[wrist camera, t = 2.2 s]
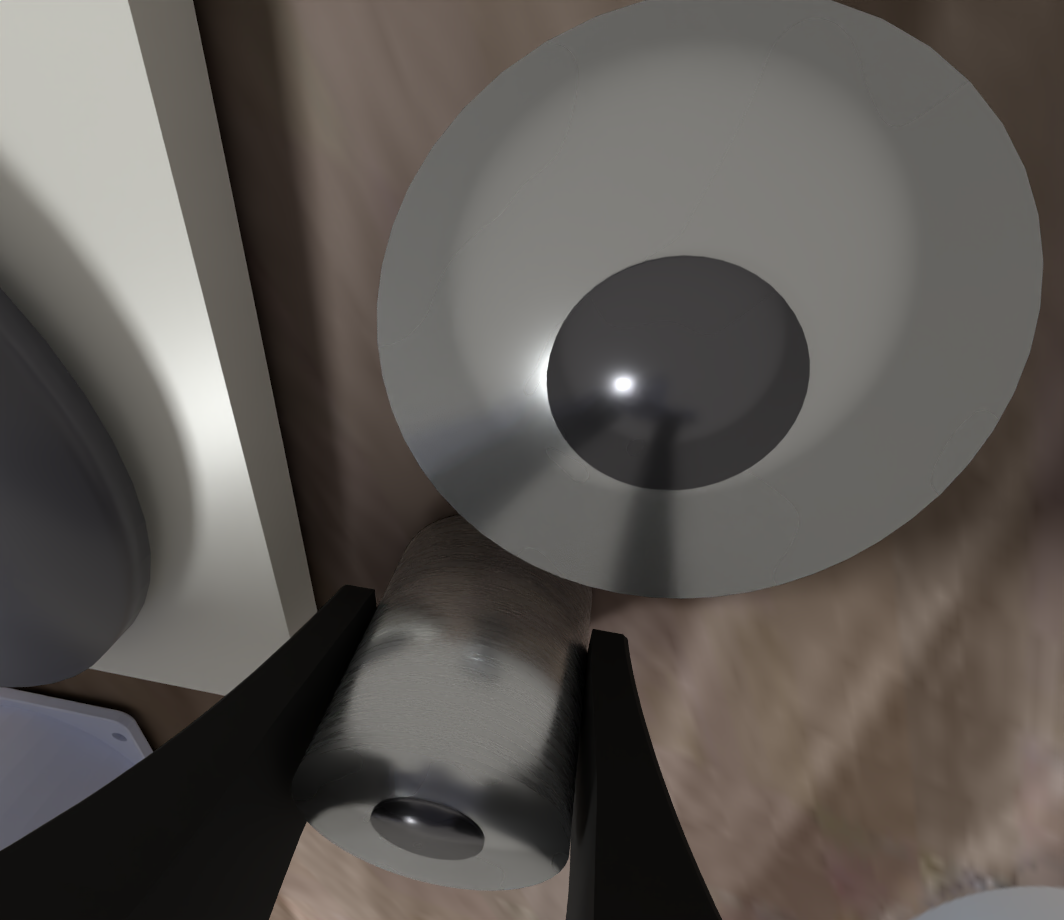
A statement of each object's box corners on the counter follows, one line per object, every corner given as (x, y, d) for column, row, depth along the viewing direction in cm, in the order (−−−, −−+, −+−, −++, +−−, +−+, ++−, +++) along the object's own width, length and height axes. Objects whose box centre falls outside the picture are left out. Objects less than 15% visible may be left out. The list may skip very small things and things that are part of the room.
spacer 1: (578, 665, 14) (553, 915, 10) (406, 633, 14) (310, 861, 10) (606, 532, 11) (587, 792, 7) (396, 497, 12) (264, 726, 8)
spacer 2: (763, 387, 9) (863, 642, 5) (498, 350, 10) (391, 557, 5) (878, 58, 7) (1264, 30, 3) (516, 24, 7) (341, -51, 3)
